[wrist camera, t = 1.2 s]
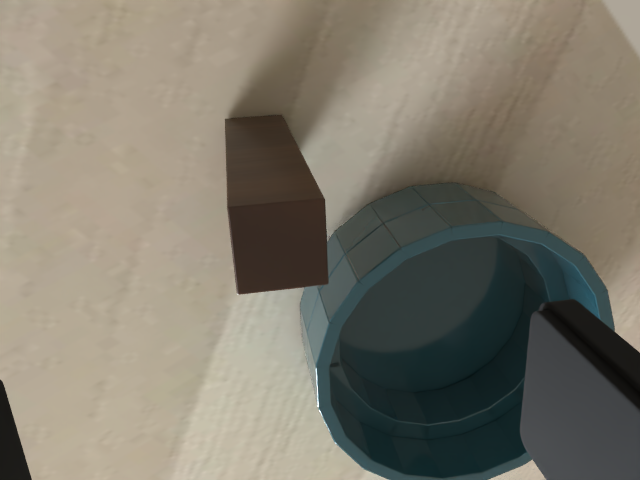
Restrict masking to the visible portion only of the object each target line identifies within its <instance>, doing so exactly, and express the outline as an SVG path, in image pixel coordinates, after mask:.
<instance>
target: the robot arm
mask: <svg viewBox="0 0 640 480" xmlns="http://www.w3.org/2000/svg"><path fill="white" fill-rule="evenodd" d="M520 435H521V439H522V442H523V445H524V447H525V449H526V451H527V452H528V453H529V455H530V456H531V458H532V459H533V461H534V462H535V464H536V465H537V467H538V468H539V469H540V471H541V472H542V474H543V475H544V477H545V478H546V480H640V353H639V352H638V351H637V350H636V349H635V348H633V347H632V346H631V345H630V344H629V343H627V342H626V341H625V340H624V339H623V338H621V337H620V336H619V335H618V334H617V333H615V332H614V331H613V330H612V329H611V328H609V327H608V326H607V325H606V324H605V323H603V322H602V321H601V320H600V319H599V318H597V317H596V316H595V315H594V314H593V313H591V312H590V311H589V310H588V309H587V308H585V307H584V306H583V305H582V304H581V303H579V302H578V301H576V300H575V299H569V300H561V301H553V302H545V303H543V304H541V306H540V307H539V310H538V311H535V312H534V313H533V314H532V316H531V320H530V329H529V340H528V350H527V360H526V371H525V381H524V391H523V401H522V412H521V422H520ZM0 480H32V479H31V475H30V472H29V469H28V465H27V462H26V459H25V455H24V452H23V448H22V445H21V442H20V438H19V435H18V432H17V428H16V425H15V421H14V418H13V415H12V411H11V408H10V404H9V401H8V398H7V394H6V391H5V388H4V385H3V382H2V381H1V380H0Z"/></svg>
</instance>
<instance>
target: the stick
mask: <svg viewBox="0 0 640 480" xmlns="http://www.w3.org/2000/svg"><path fill="white" fill-rule="evenodd" d="M225 135H226V174H227V210H228V219H229V228H230V236H231V245H232V254H233V263H234V272H235V281H236V289H237V294H248V293H257V292H266V291H275V290H284V289H293V288H302V287H311V286H319V285H327V284H328V283H329V277H328V255H327V234H326V212H325V199H324V197H323V195H322V193H321V191H320V189H319V187H318V185H317V183H316V181H315V179H314V177H313V175H312V173H311V171H310V169H309V167H308V165H307V163H306V161H305V159H304V157H303V155H302V153H301V151H300V150H299V148H298V146H297V144H296V142H295V140H294V138H293V136H292V134H291V132H290V130H289V128H288V126H287V124H286V122H285V120H284V118H283V116H282V115H268V116H255V117H242V118H228V119H225Z"/></svg>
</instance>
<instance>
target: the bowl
mask: <svg viewBox="0 0 640 480" xmlns="http://www.w3.org/2000/svg"><path fill="white" fill-rule="evenodd" d="M327 255H328V277H329V283H328V284H327V285H319V286H311V287H305V288H304V292H303V295H302V299H301V302H300V315H301V329H302V341H303V346H304V350H305V354H306V359H307V363H308V367H309V371H310V376H311V380H312V384H313V388H314V393H315V397H316V401H317V406H318V409H319V411H320V413H321V415H322V418H323V420H324V422H325V424H326V426H327V428H328V430H329V432H330V434H331V436H332V438H333V440H334V442H335V443H336V444H337V445H338V446H339V447H340V448H341V449H342V450H343V451H344V452H346V453H347V454H348V455H349V456H350V457H351V458H352V459H353V460H354V461H355V462H356V463H358V464H359V465H360V466H361V467H362V468H364V469H365V470H367V471H369V472H372V473H374V474H377V475H379V476H381V477H384V478H386V479H389V480H488V479H491V478H493V477H496V476H498V475H501V474H503V473H505V472H508V471H510V470H513V469H515V468H518V467H520V466H523V464H524V465H525V464H526V463H528V462H529V461H531V460H532V458H531V456H530V455H529V453H528V452H527V451H526V449H525V447H524V445H523V442H522V439H521V435H520V422H521V412H522V401H523V391H524V381H525V371H526V360H527V350H528V340H529V329H530V320H531V316H532V314H533V313H534V312H535V311H538V310H539V307H540V306H541V304H543V303H545V302H553V301H561V300H569V299H575V300H576V301H578V302H579V303H581V304H582V305H583V306H584V307H585V308H587V309H588V310H589V311H590V312H591V313H593V314H594V315H595V316H596V317H597V318H599V319H600V320H601V321H602V322H603V323H605V324H606V325H607V326H608V327H609V328H611V329H612V330H613V331H615V326H614V321H613V316H612V311H611V306H610V300H609V295H608V290H607V288H606V286H605V285H604V283H603V282H602V280H601V279H600V277H599V276H598V274H597V273H596V271H595V270H594V268H593V267H592V265H591V264H590V262H589V261H588V259H587V258H586V256H585V255H584V254H583V253H581V252H580V251H579V250H577V249H576V248H574V247H573V246H571V245H570V244H569V243H567V242H566V241H564V240H563V239H562V238H560V237H559V236H557V235H556V234H555V233H553V232H552V231H550V230H549V229H548V228H546V227H545V226H543V225H542V224H541V223H539V222H538V221H536V220H535V219H534V218H532V217H531V216H529V215H528V214H527V213H525V212H524V211H522V210H521V209H519V208H518V207H516V206H515V205H513V204H512V203H510V202H509V201H507V200H506V199H504V198H503V197H501V196H500V195H498V194H497V193H495V192H493V191H489V190H485V189H481V188H477V187H472V186H468V185H464V184H460V183H453V182H451V183H441V184H430V185H419V186H411V187H408V188H406V189H403V190H401V191H398V192H396V193H393V194H391V195H389V196H386V197H384V198H381V199H379V200H376V201H374V202H372V203H370V204H368V205H367V206H366V207H364V208H363V209H362V210H361V211H359V212H358V213H357V214H356V215H354V216H353V217H352V218H351V219H350V220H348V221H347V222H346V223H345V224H343V225H342V226H341V227H340V228H338V229H337V230H336V231H335V232H334V233H333V235H332V236H331V238H330V239H329V241H328V242H327Z"/></svg>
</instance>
